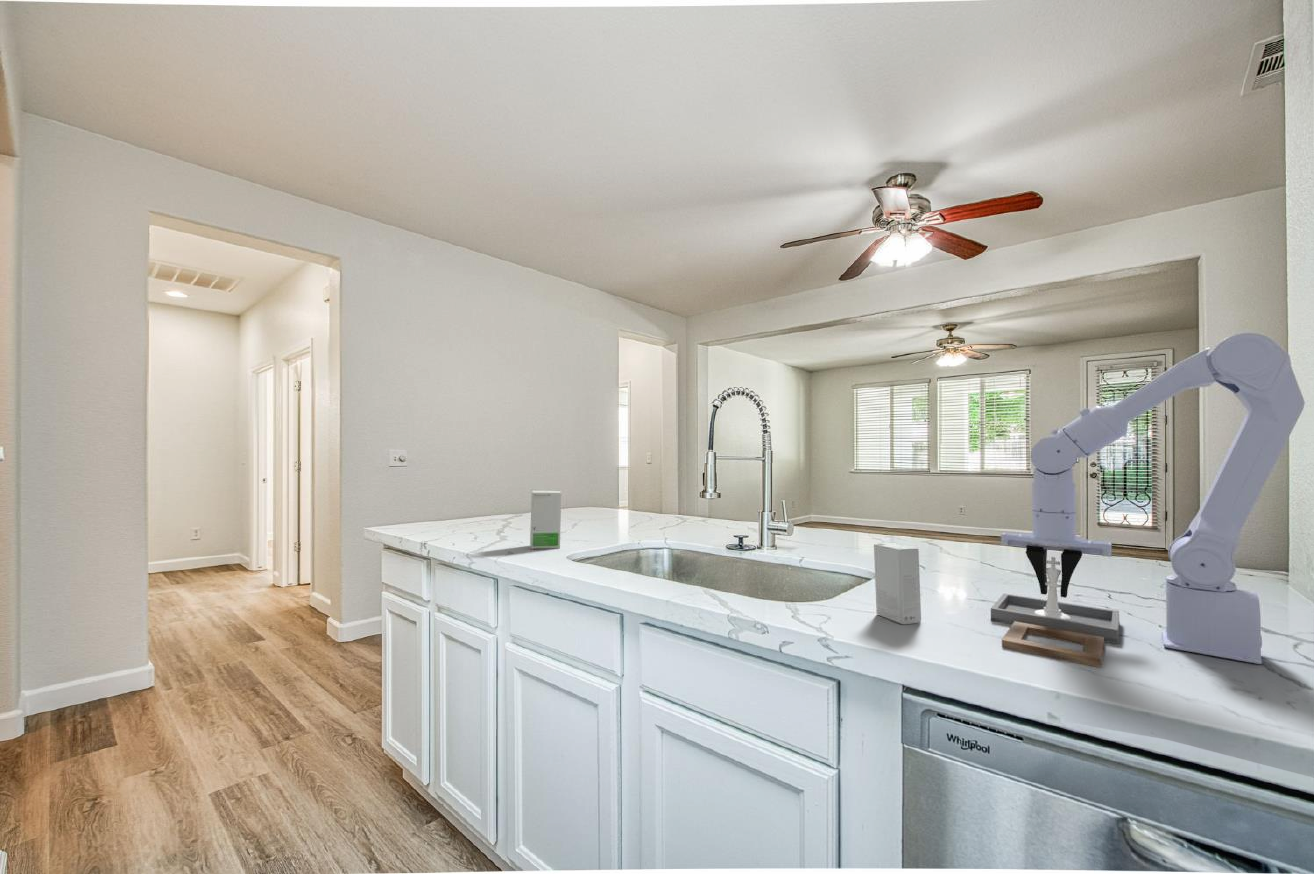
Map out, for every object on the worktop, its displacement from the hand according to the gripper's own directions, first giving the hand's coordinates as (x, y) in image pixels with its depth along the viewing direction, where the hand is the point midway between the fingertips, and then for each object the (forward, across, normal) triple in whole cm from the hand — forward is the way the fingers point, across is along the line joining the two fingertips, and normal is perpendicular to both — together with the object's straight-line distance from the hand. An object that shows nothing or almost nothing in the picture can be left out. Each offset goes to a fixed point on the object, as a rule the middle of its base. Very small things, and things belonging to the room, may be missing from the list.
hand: (1053, 594), depth 90 cm
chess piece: (+4, 0, -1) cm, 4 cm away
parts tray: (+4, 0, 0) cm, 4 cm away
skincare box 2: (+5, -20, -15) cm, 25 cm away
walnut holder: (+4, +1, -13) cm, 14 cm away
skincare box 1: (+5, -115, -14) cm, 116 cm away
